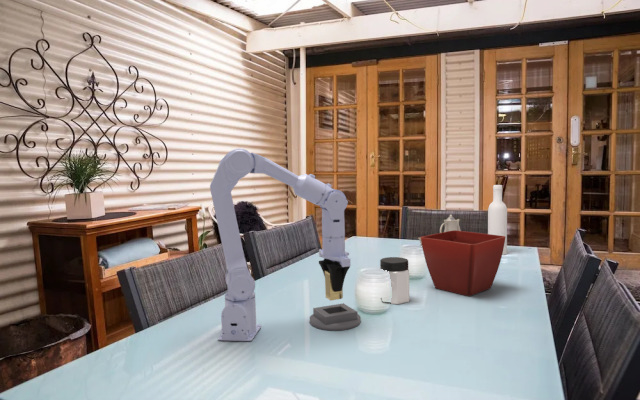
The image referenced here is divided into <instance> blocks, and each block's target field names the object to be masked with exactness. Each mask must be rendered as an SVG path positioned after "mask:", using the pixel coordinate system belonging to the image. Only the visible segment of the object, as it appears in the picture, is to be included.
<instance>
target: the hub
mask: <svg viewBox="0 0 640 400" xmlns="http://www.w3.org/2000/svg"><path fill="white" fill-rule="evenodd" d="M312 310H313V311H312V312H313V313H312V314H311V315H310V316H309V324H310V325H311V326H312V327H313V328H316V329H318V330H322V331H330V332H333V331H335V332H337V331H341V332H342V331H348V330H351V329H354V328H357V327H358V326H359V325H360V324H361V315H360V314H359V313H358V311H357V310H356V309H354V308H352V307H351V306H348V305H347V304H346V303H344V302H343V303H337V304H332V305H330V304H329V305H326V306H319V307H318V306H317V307H313V308H312Z"/></svg>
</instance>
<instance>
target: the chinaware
mask: <svg viewBox="0 0 640 400" xmlns="http://www.w3.org/2000/svg"><path fill="white" fill-rule="evenodd" d="M443 226H444V230H443ZM442 230H443V231H442ZM453 230H457V231H462V230H461V227H460V218H457V219H456V218H455V217H453V215H452V214H449V215H448V217H447V218H446V219H443V223H442V224H441V225H440V228H439V233H442V232H447V231H453ZM417 239H418V240H419V244H420V246H422V243H421V237H417Z"/></svg>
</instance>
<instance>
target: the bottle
mask: <svg viewBox="0 0 640 400" xmlns="http://www.w3.org/2000/svg"><path fill="white" fill-rule="evenodd" d="M492 191H493V192H492V194H493V195H492V201H491V203H489V206H488V208H487V234H491V235H499V236H505V243H504V248H503V253H502V256H506V255H507V253H508V207H507V205H506V203H505V202H504V201H503V185H502V184H494V185H492Z"/></svg>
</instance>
